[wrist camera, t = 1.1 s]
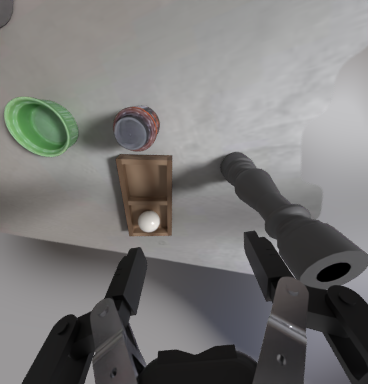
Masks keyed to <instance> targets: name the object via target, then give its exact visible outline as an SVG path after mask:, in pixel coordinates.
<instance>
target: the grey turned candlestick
mask: <svg viewBox="0 0 368 384" xmlns="http://www.w3.org/2000/svg"><path fill="white" fill-rule="evenodd" d="M220 168H221V172H222V174H223V175H224V177H225V178H226V180H227V181H228V182H229V183H231V185H233V186H234V187H235V193H236V194H237V196H238V197H239V198H240V199H241V200H242V201H243V202H245V203H246V204H248V205H249V206H250V207H252V208H253V209H255V210H256V211H257V212H259V214H260V215H261V216H262V218H263V219H264V220H265V231H266V232H267V234H268V235H269V236H270V237H272V238H274V239H277V247H278V248H279V254H280V256H281V257H282V259H283V260H284V262H285V263H286V265H287V266H288V267H289V269H290V270H291V272H292V273H293V275H294V276H295V278H296V279H297V280H299V281H301V282H302V283H303V284H304V285H307V286H309V287H314V288H319V289H325V290H326V289H328V288H329V287H330V286H333V285H343V284H345V283H347V282H349V281H351V280H352V279H354V278H356V277H357V276H358V275H360V274H361V273H362V272H363V271H364V270H365V269H366V267H367V266H368V254H367V253H365V252H364V251H363V250H362V249H360V248H359V247H358V246H357V245H355V244H354V243H353V242H352V241H350V240H349V239H348V238H346V237H345V236H344V235H343V234H342V233H340V232H339V231H338V230H336V229H335V228H334V227H332V226H330V225H329V224H326V223H322V222H320V221H319V220H314V219H311V214H310V212H309V210H308V209H306V208H305V207H303V206H301V205H299V204H291V203H290V202H289V201H288V200H287V199H286V198H284V197H283V196H282V195H281V194H280V192H279V190H278V189H277V187H276V185H275V184H274V182H273V180H272V178H271V177H270V175H269V174H268V173H267V172H266V171H264V170H262V169H258V168H256V166H255V165H254V163H253V162H252V160H251V159H249V158H248V157H247V156H246V155H244V154H242V153H240V152H234V153H231V154H229V155H227V156H226V157H225V158H224V159H223V161H222V163H221V167H220Z"/></svg>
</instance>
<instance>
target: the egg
mask: <svg viewBox="0 0 368 384" xmlns="http://www.w3.org/2000/svg"><path fill="white" fill-rule="evenodd" d="M159 224H160V218H159V216H158V214H157V213H156V212H154V211H145V212H143V213H142V214H141V215H140V216H139V219H138V225H139V227H140V229H141V230H143V231H144V232H153V231H155V230H156V229H157V228H158V226H159Z"/></svg>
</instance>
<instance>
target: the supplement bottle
mask: <svg viewBox="0 0 368 384" xmlns="http://www.w3.org/2000/svg"><path fill="white" fill-rule="evenodd" d="M159 128H160V123H159V119H158V116H157V115H156V113H155V112H154V111H153V110H152V109H151V108H149V107H146V106H134V107H128V108H125V109H123V110H121V111H120V112H119V113H118V114H117V115H116V117H115V119H114V122H113V131H114V135H115V138H116V140H117V142H118V143H119V144H120V145H121V146H122V147H124V148H126V149H128V150H131V151H144V150H146V149H148V148H149V147H150V146H151V145H152V144H153V143H154V141H155V139H156V136H157V134H158V132H159Z"/></svg>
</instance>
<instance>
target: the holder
mask: <svg viewBox="0 0 368 384" xmlns="http://www.w3.org/2000/svg"><path fill="white" fill-rule="evenodd" d="M116 164H117V169H118V175H119V180H120V186H121V192H122V197H123V203H124V208H125V214H126V219H127V225H128V231H129V236H172V156H171V155H130V154H120V155H119V156H118V157H117V158H116ZM145 211H154V212H156V213H157V214H158V216H159V218H160V224H159V226H158V228H157V229H156V230H155V231H153V232H144V231H143V230H141V229H140V227H139V225H138V219H139V216H140V215H141V214H142V213H143V212H145Z"/></svg>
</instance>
